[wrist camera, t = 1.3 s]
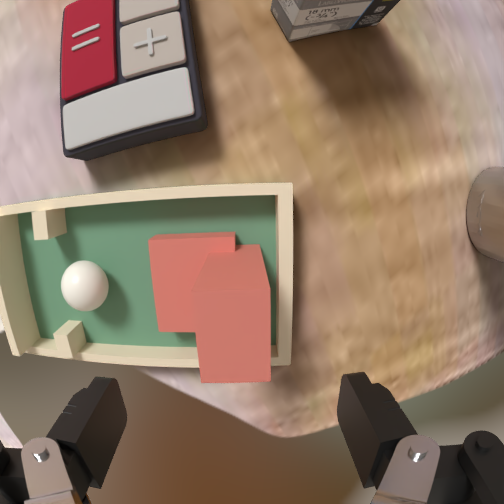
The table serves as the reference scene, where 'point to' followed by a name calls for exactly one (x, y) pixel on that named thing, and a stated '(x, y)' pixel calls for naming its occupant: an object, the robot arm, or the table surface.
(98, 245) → the pitch
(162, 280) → the block
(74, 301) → the ball
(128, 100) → the calculator
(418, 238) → the table surface
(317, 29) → the label tape cartridge
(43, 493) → the robot arm
